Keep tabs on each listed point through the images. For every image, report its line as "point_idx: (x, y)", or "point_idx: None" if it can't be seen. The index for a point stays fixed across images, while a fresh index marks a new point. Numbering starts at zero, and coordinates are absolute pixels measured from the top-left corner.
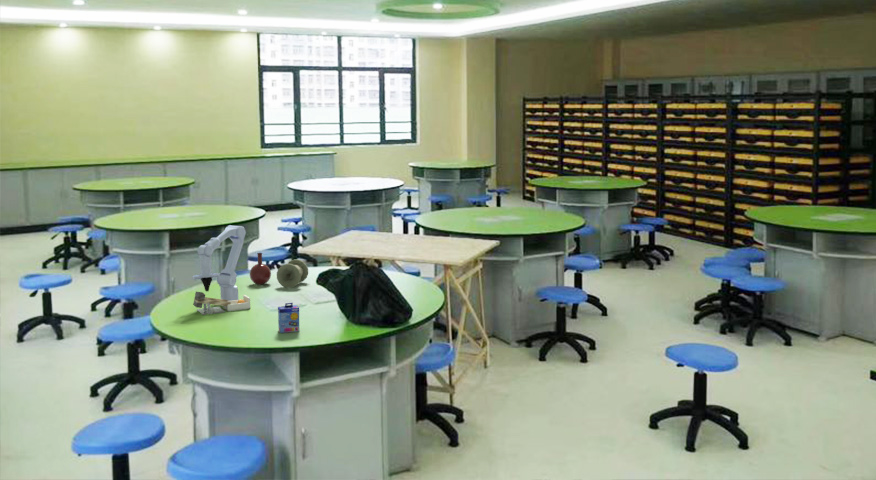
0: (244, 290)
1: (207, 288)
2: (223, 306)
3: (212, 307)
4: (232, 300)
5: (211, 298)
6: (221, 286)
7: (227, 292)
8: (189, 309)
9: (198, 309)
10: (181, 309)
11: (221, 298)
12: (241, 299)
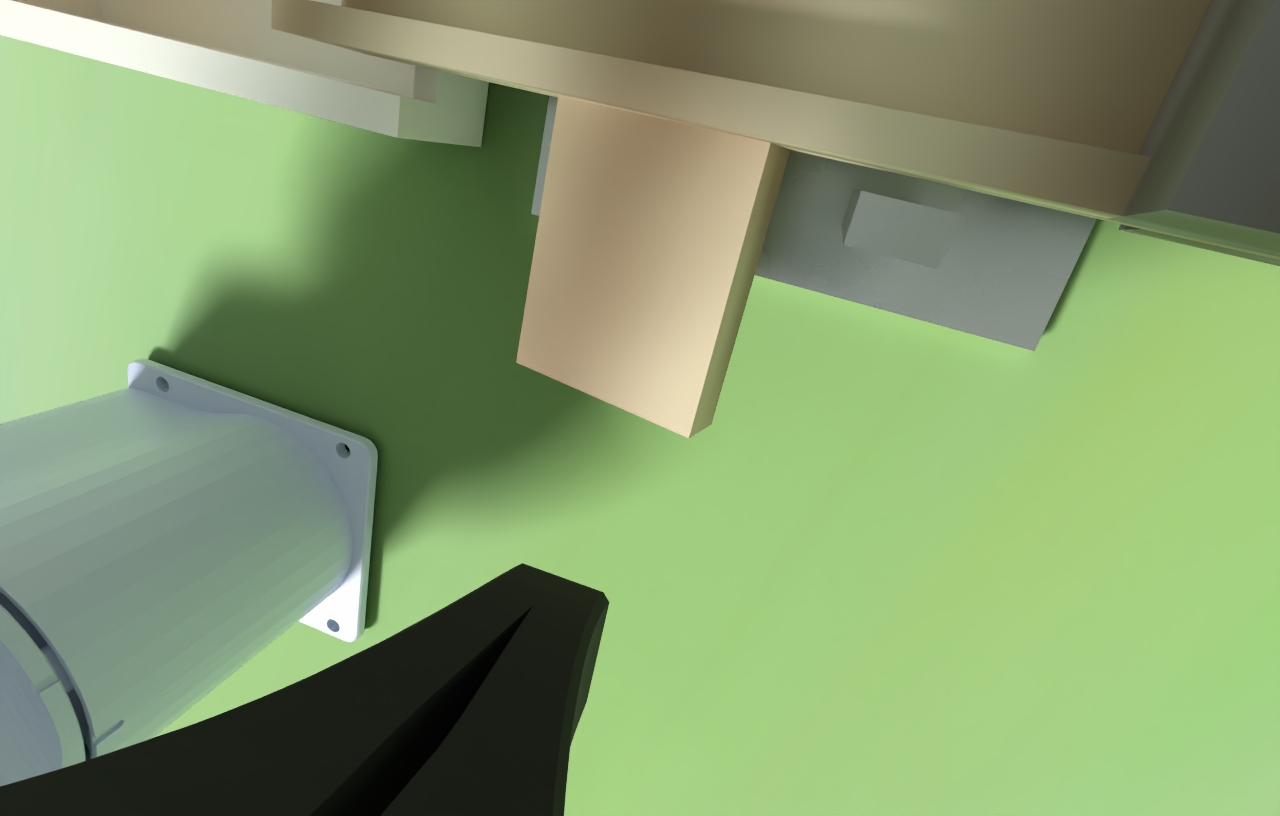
0: None
1: (503, 650)
2: (467, 99)
3: None
4: (189, 73)
5: (695, 76)
6: (49, 722)
7: (104, 503)
8: (1077, 545)
9: (1019, 303)
10: (1199, 673)
11: (312, 558)
12: (15, 22)
